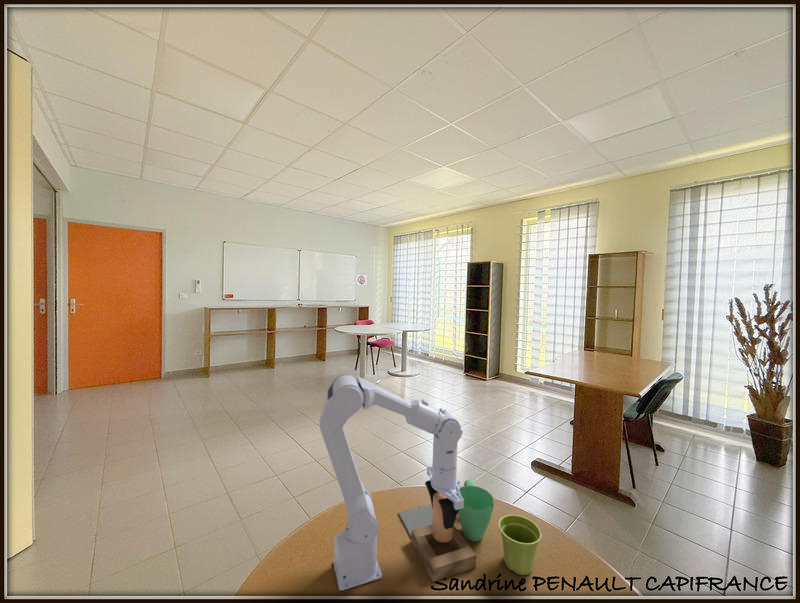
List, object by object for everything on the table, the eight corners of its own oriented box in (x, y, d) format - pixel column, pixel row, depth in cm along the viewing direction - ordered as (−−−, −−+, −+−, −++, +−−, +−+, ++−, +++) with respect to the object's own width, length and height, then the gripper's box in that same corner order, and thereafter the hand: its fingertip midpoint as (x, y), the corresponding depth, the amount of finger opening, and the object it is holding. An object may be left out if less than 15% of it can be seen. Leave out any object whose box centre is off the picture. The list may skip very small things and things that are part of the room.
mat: (412, 539, 83) (412, 538, 82) (398, 513, 92) (398, 512, 92) (446, 529, 86) (447, 528, 86) (430, 505, 95) (430, 504, 95)
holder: (432, 582, 71) (433, 569, 71) (411, 541, 82) (411, 530, 82) (475, 567, 75) (476, 555, 74) (449, 530, 86) (449, 519, 86)
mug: (496, 550, 80) (498, 510, 79) (456, 548, 80) (458, 508, 80) (483, 509, 94) (485, 476, 94) (450, 508, 95) (451, 474, 94)
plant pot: (491, 549, 80) (492, 515, 80) (527, 547, 81) (529, 513, 81) (507, 583, 71) (508, 545, 70) (548, 580, 72) (549, 542, 71)
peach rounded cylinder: (438, 544, 75) (439, 506, 74) (428, 529, 79) (429, 493, 79) (456, 539, 77) (458, 502, 76) (446, 524, 81) (447, 489, 81)
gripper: (476, 477, 72) (474, 536, 73) (444, 447, 85) (443, 497, 86) (448, 483, 69) (446, 545, 70) (420, 451, 83) (418, 502, 84)
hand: (442, 519), depth 78 cm, fingers closed on peach rounded cylinder, 5 cm apart
